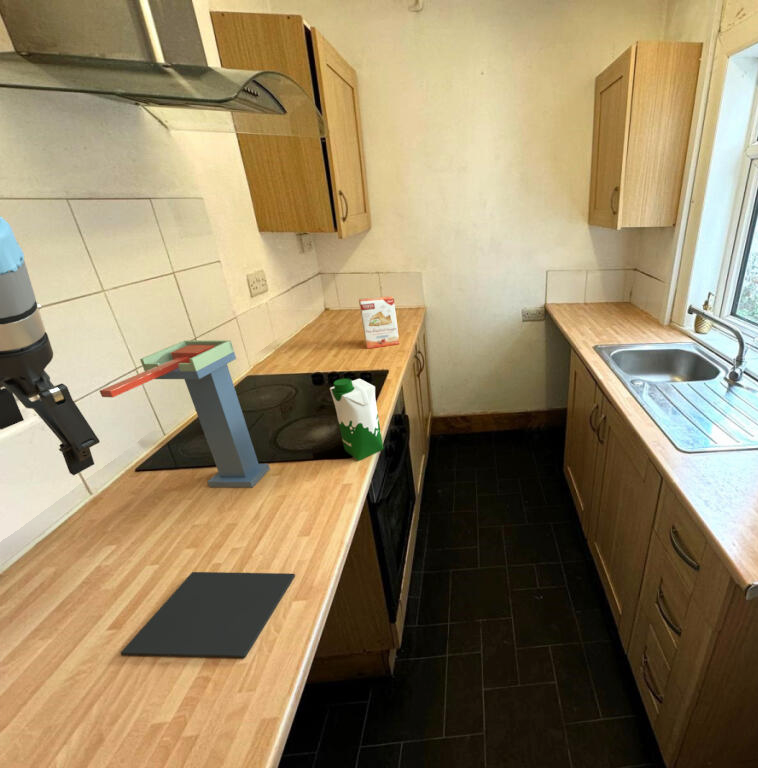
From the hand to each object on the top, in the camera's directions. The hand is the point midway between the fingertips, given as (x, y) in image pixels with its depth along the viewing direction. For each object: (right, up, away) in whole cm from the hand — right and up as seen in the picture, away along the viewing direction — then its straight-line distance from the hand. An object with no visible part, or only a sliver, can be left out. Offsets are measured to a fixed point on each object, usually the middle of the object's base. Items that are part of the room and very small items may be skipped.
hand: (46, 446), depth 63 cm
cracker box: (+14, +27, +121) cm, 125 cm away
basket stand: (+8, -13, +32) cm, 35 cm away
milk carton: (+33, -8, +44) cm, 55 cm away
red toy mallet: (+6, +12, +14) cm, 19 cm away
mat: (+25, -26, +2) cm, 36 cm away
